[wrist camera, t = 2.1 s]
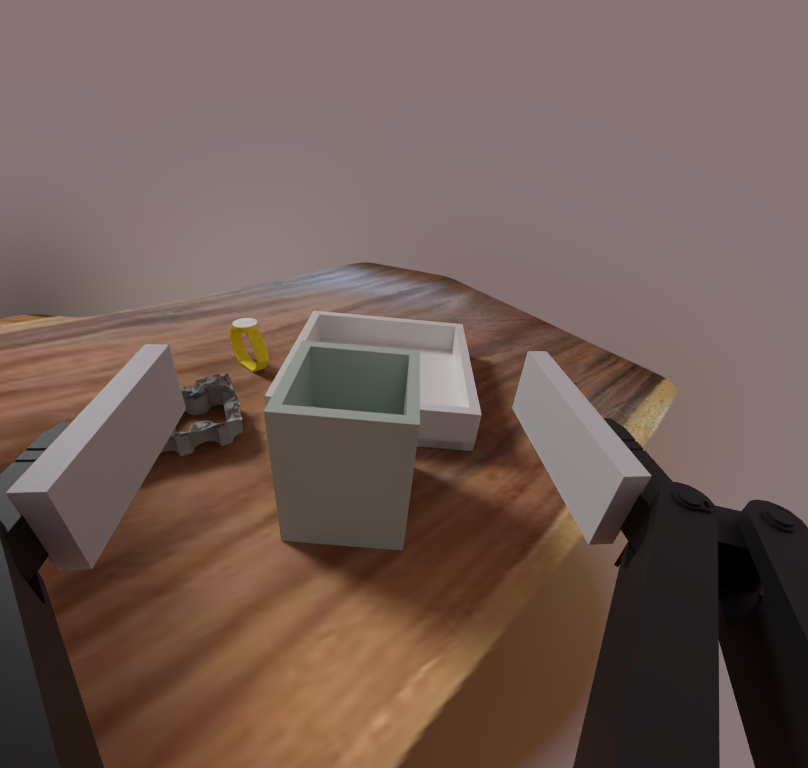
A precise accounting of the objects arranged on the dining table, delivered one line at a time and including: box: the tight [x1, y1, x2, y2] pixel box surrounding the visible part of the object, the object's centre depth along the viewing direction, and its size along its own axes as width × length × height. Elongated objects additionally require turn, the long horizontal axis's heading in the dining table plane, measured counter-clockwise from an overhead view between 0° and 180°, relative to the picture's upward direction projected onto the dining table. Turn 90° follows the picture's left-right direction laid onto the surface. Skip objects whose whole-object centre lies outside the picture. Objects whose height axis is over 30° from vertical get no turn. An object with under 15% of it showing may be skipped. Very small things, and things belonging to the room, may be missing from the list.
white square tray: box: [265, 311, 481, 451], centre depth 46 cm, size 20×20×4 cm
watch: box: [230, 318, 268, 373], centre depth 47 cm, size 6×3×6 cm, turn 49°
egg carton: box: [160, 374, 243, 456], centre depth 37 cm, size 11×8×4 cm
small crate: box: [264, 340, 420, 551], centre depth 30 cm, size 9×9×12 cm
